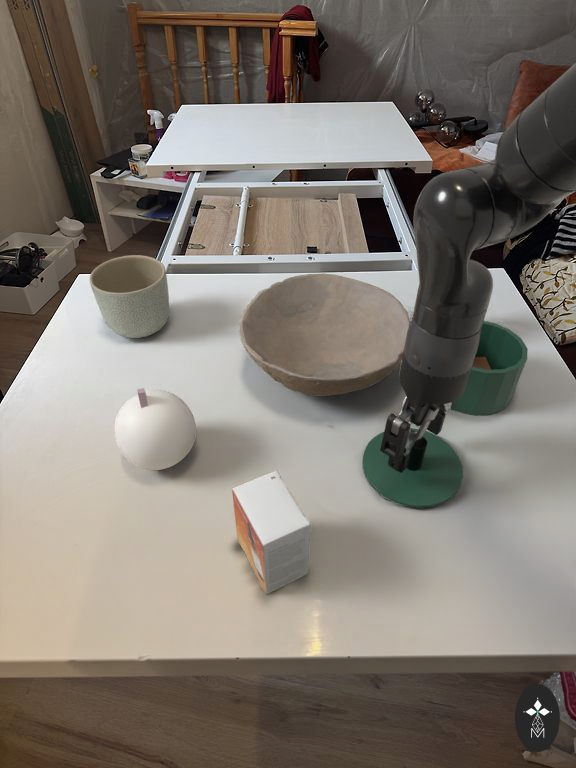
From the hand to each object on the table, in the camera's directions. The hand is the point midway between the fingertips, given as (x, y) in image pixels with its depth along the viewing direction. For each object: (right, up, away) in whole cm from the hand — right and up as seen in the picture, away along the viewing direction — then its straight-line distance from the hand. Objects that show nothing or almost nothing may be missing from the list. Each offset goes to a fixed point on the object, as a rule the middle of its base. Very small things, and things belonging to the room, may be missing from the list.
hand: (414, 448), depth 69 cm
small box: (-18, -12, -7) cm, 23 cm away
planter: (-43, +19, +27) cm, 54 cm away
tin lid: (0, -3, +2) cm, 4 cm away
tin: (+12, +8, +15) cm, 20 cm away
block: (+12, +8, +14) cm, 20 cm away
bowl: (-11, +11, +18) cm, 24 cm away
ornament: (-34, -2, +5) cm, 34 cm away
